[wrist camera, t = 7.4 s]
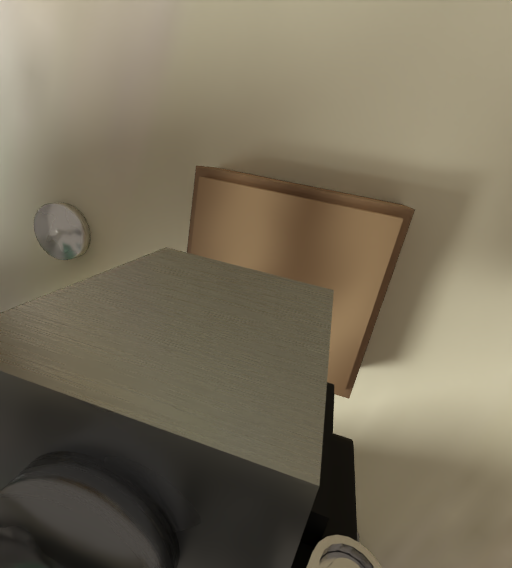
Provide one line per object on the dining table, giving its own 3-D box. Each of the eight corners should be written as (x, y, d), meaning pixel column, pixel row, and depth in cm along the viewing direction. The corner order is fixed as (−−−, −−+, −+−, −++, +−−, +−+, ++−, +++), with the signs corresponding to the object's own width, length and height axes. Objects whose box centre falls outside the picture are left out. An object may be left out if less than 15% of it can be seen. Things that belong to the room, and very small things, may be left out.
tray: (196, 325, 26) (172, 349, 22) (217, 167, 21) (191, 165, 18) (347, 369, 24) (349, 404, 20) (402, 204, 19) (417, 210, 16)
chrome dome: (47, 249, 27) (35, 252, 26) (46, 196, 26) (32, 197, 25) (92, 262, 27) (81, 266, 26) (93, 209, 25) (81, 210, 24)
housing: (165, 247, 10) (-144, 369, 3) (333, 289, 9) (314, 551, 3) (149, 447, 12) (-37, 709, 6) (275, 494, 11) (199, 851, 5)
